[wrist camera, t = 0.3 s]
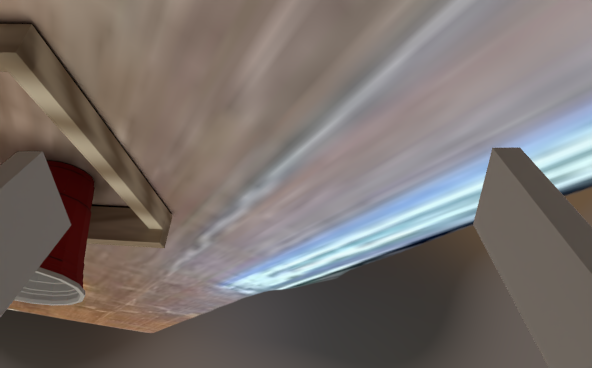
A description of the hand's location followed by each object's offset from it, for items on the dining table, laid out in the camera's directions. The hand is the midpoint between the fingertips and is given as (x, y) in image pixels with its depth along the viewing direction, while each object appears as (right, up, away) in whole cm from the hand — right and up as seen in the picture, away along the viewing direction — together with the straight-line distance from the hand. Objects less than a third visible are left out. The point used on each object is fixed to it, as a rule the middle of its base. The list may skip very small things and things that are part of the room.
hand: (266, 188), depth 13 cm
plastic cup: (-23, +1, +31) cm, 38 cm away
